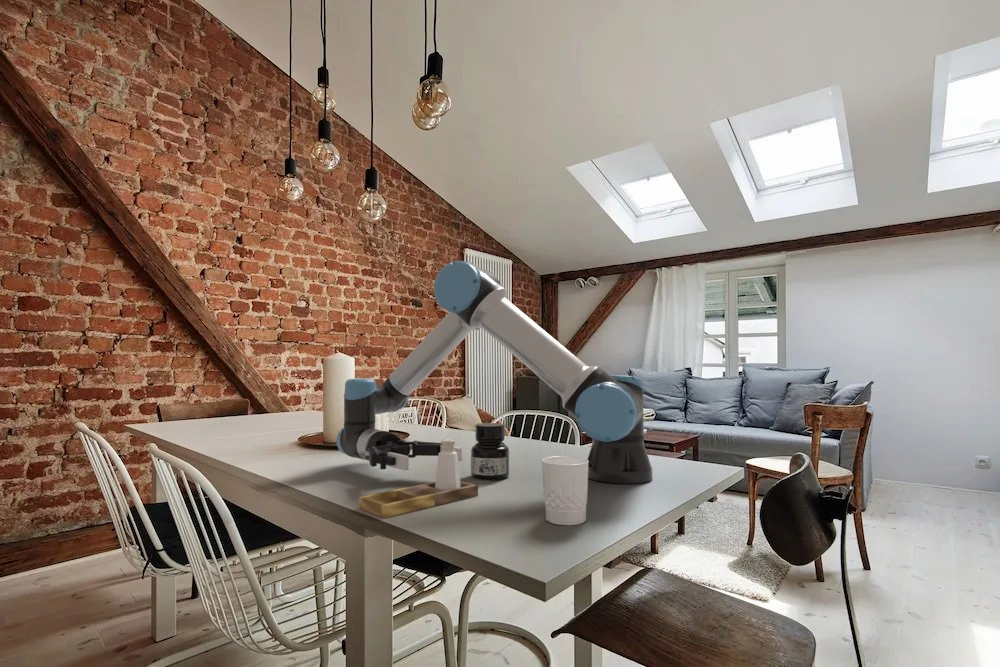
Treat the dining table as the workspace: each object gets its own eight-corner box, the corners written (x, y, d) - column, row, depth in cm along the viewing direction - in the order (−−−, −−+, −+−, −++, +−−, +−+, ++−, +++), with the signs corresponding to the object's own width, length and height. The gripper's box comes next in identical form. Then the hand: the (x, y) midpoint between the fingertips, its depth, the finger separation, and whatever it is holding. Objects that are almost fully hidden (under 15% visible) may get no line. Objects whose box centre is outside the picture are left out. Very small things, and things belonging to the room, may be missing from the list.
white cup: (532, 520, 89) (532, 460, 89) (559, 510, 95) (558, 454, 95) (572, 530, 84) (572, 466, 84) (597, 518, 90) (597, 459, 90)
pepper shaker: (449, 490, 109) (449, 437, 110) (467, 495, 105) (467, 439, 106) (428, 495, 105) (428, 439, 106) (446, 500, 102) (446, 442, 102)
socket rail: (451, 488, 111) (451, 478, 111) (478, 495, 105) (478, 485, 105) (359, 507, 96) (359, 496, 97) (384, 517, 90) (384, 506, 90)
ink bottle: (464, 479, 119) (464, 426, 120) (474, 471, 128) (475, 421, 128) (506, 482, 117) (506, 427, 118) (514, 473, 126) (514, 423, 126)
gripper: (423, 456, 132) (480, 468, 117) (329, 470, 115) (381, 487, 99) (423, 425, 132) (480, 434, 117) (330, 435, 115) (381, 447, 100)
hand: (434, 458), depth 108 cm, fingers open, 13 cm apart
